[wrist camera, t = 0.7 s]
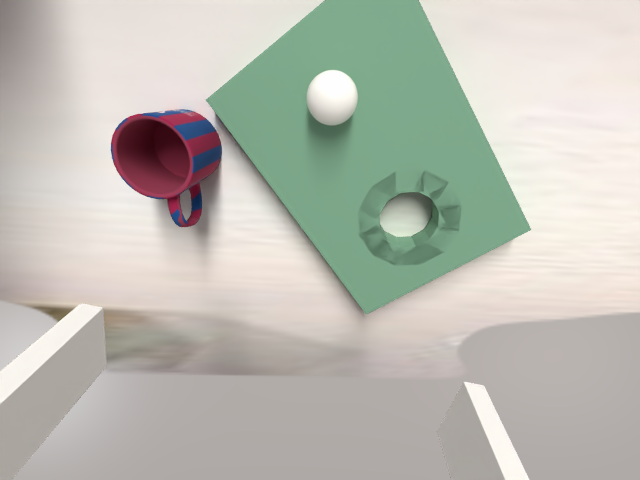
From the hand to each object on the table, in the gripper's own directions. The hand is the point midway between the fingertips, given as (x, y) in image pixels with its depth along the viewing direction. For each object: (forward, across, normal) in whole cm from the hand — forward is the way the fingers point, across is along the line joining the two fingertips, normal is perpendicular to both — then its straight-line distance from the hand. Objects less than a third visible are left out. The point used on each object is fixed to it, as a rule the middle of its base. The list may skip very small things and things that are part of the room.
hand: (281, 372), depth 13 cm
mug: (+24, -13, 0) cm, 28 cm away
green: (+24, +5, +4) cm, 25 cm away
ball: (+22, 0, +9) cm, 23 cm away
